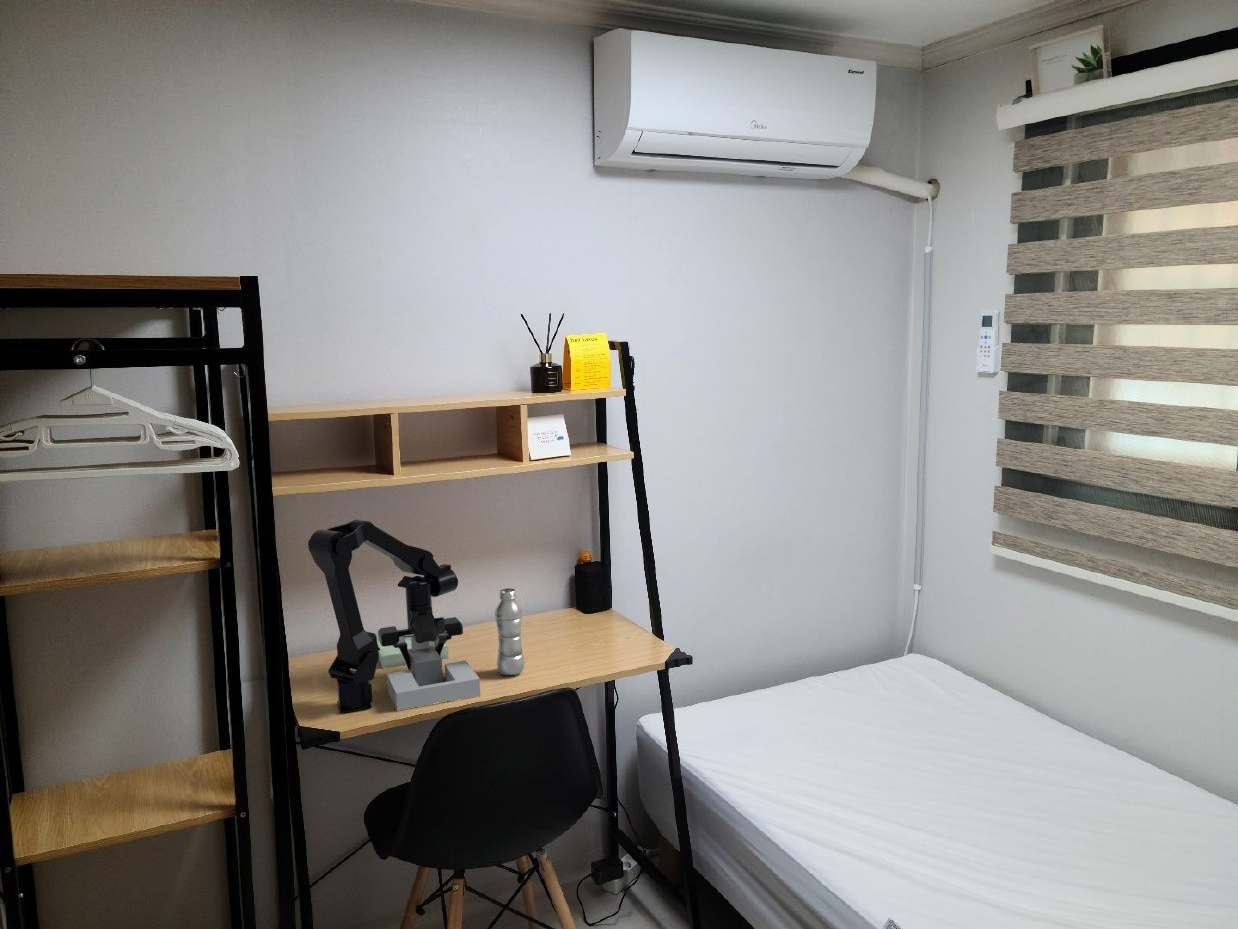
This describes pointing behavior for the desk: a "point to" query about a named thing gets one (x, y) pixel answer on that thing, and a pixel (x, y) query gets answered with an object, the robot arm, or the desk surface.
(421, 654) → the grey block with handle
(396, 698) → the bay housing
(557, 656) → the desk surface
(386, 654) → the tray
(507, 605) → the plastic bottle
